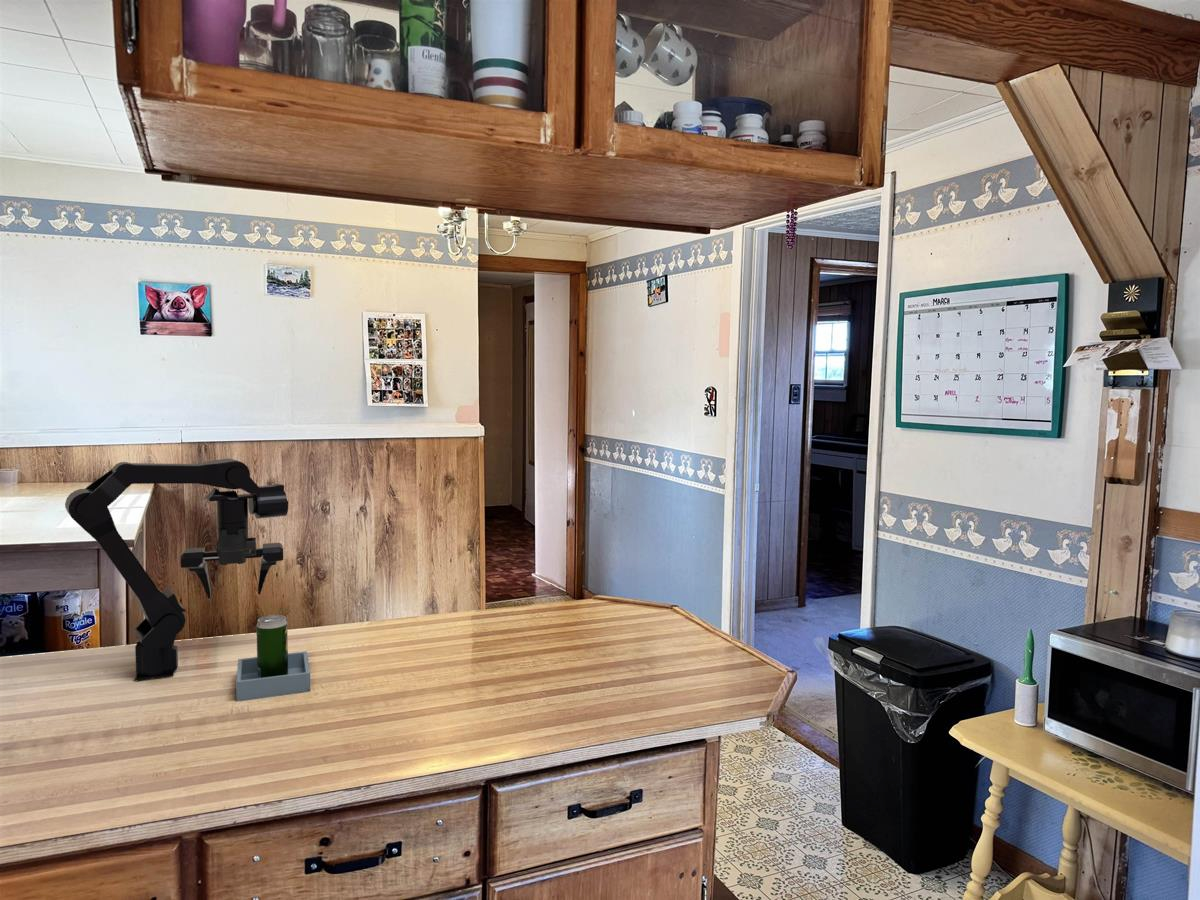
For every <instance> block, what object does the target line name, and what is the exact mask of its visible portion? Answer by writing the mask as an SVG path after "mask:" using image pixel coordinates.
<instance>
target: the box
mask: <svg viewBox="0 0 1200 900" xmlns="http://www.w3.org/2000/svg"><path fill="white" fill-rule="evenodd" d="M310 669H311V668H310V663H309V656H308V652H307V650H305V651H298V652H297V651H296V652H290V653H289V652H288V675H281V676H273V677H265V678H258V674H257V656H254V657H245V658H238V660H237V670H236V671H237V672H236V680H235V681H236V682H235V684H236V685H235V687H236V688H235V689H236V692H235V693H236V702H242V701H249V700H257V699H264V698H272V697H279V696H280V697H281V696H286V695H294V694H301V693H310V692H311V670H310Z"/></svg>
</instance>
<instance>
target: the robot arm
mask: <svg viewBox="0 0 1200 900" xmlns="http://www.w3.org/2000/svg"><path fill="white" fill-rule="evenodd" d="M134 484H135V485H136V484H137V485H143V484H145V485H146V484H147V485H148V484H152V485H154V484H157V485H158V484H159V485H160V484H161V485H162V484H169V485H171V484H179V485H180V484H186V485H187V484H189V485H190V484H191V485H192V484H200V485H204V486H211V487H213V488H212V490H211V491H210V492H209V493H208V494H207V495H205V496H204V499H205V500H206V501H209V502H216V523H217V524H216V528H217V529H216V530H217V541H216V550H214V551H213V550H212V551H205V549H206V548H205V547H191V548H189V547H188V548H185V549H184V550H183V551H182V552H181V554H180V568H182V569H183V568H184V569H185V568H188V572H194V573H195V574H196V575H197V576H198V578H199V580H200V582H201V584H202V586H203V589H204V591H205V595H206V596H207V599H211V598H212V588H211V582H210V575H209V569H208V563H207V562H212V561H218V564H219V565H220V566H228V565H230V564H231V565H232V564H237V565H242V564H245V563H246V562H247V559H255V558H260V564H259V565H260V568H259V574H258V583H257V594H258V595H261V592H262V589H263V587H264V583H265V580H266V578H267V575H268V573H269V570H270V568H272V566H276V565H277V564H278V563H277V562H281V561H282V562H283V561H284V546H283V544H282V543H281V542H269V543H268V542H267V543H262V547H260V548H258V547H257V537H255V536H254V537H249V514H250V515H254V517H255V518H256V519H258V520H259V519H268V518H278V517H286V516H287V515H288V513H289V500H288V498H287V497H288V496H287V494H286V492H285V486H284V485H283V484H282V483H275V484H274V483H273V484H272V485H271V484H270V485H262V486H260V485H258V483H256V482H255V481H254V479H252V477H251V471H250V469H249V466H248V465H246V464H245V462H242V461H240V460H237V459H234V458H222V459H214V460H209V461H205V462H198V463H148V462H147V463H145V462H143V463H141V462H140V463H138V462H136V463H134V462H133V463H132V462H128V461H122V462H119V463H116V464H115V465H114V466H113V467H112V468H111V469H110V470H108V471H107V472H105V473H104V474H103V475H101V476H99V477H98V478H96V479H95V480H94V481H93V482H91V483H90V484H89V485H88V486H86V487H85V488H79V489H76V490H74V491H73V492H71V493H69V494H68V496H67V497H66V499H65V503H64V507H65V510H66V512H67V514H68V515H69V516H70V517H71V518H72V520H74V522H76V523H77V524H78V525H79V527H81V528H82V530H84V531H85V532H87V534H89V536H90V537H91V538H93V539H94V540H95V541H96V542H97V543H98V545H99V547H101V549H102V550H103V551H104V553H105V554H106V555H107V557H108V559H109V560H110V561H111V563H112V564H113V566H114V567H115V568H116V570H117V571H118V572H119V574H120V575H121V577H122V578H123V579H124V581H125V583H126V584H127V585H128V586H129V588H130V589H131V590H132V592H133V593H134V595H135V596H136V598H137V600H138V603H139V606H140V608H141V612H142V614H143V615H144V617H145V618H144V619H143V620H142V621H141V622H140V623H139V624H138V625H137V626H136V627H134V629H133V633H134V634H135V637H136V638H137V640H139V641H137V642H136V644H135V646H134V648H135V651H134V652H135V670H136V671H135V672H136V673H135V675H134V678H133V679H135V680H138V681H143V680H142V679H146V680H152V679H151V678H154V679H161V677H163V678H170V676H171V677H173V676H174V674H175V671H177V669H178V667H179V654H178V653H179V649H178V645H175V640H176V637H177V635H178V634H179V633H180V632H182V631H183V629H184V627H185V624H186V621H187V620H186V617H185V614H184V613H185V612H187V610H186V608H185V607H184V606H183V605H182V604H181V603H180V602H179V601H178V598H177V596H176V594H175V593H174V592H173V591H172V590H171V589H170V588H169V587H167V588H166V589H164V590H163V591H162V590H160V589H159V588H158V587H157V585H156V584H155V583H154V581H153V580H152V579H151V577H150V576H149V574H148V572H147V571H146V570H145V568H144V567H143V565H142V564H141V563H140V562H139V560H138V559H137V557H136V556H135V554H134V553H133V552H132V550H131V549H130V547H129V546H128V544H127V543H126V542H125V540H124V538H123V537H122V536H121V534H120V533H119V532H118V530H117V527H116V525H115V522H114V519H113V517H112V516H113V515H112V514H111V512H110V509H109V506H110V505H112V504H113V503H114V502H115V501H116V500H117V499H118V498H119V497H120V496H121V495H122V494H123V493H124V492H125V491H126V490H127V488H129V487H130V486H131V485H134ZM218 488H222V489H228V490H226V491H225V490H223V491H222V490H221V491H220V490H219V489H218ZM236 490H241V491H244V492H246V493H241V494H239V493H238V492H237V491H236ZM135 680H134V681H135Z"/></svg>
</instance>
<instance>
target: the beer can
mask: <svg viewBox="0 0 1200 900" xmlns="http://www.w3.org/2000/svg"><path fill="white" fill-rule="evenodd" d="M255 628H256V657H257V674H258V678H265V677H273V676H281V675H288V653H289V648H288V647H289V645H288V644H289V642H288V641H289V638H288V637H289V636H288V633H289V632H288V621H287V617H286V616H284V615H281V614H271V615H265V616H262V617H259V618H257V623H256V627H255Z"/></svg>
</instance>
